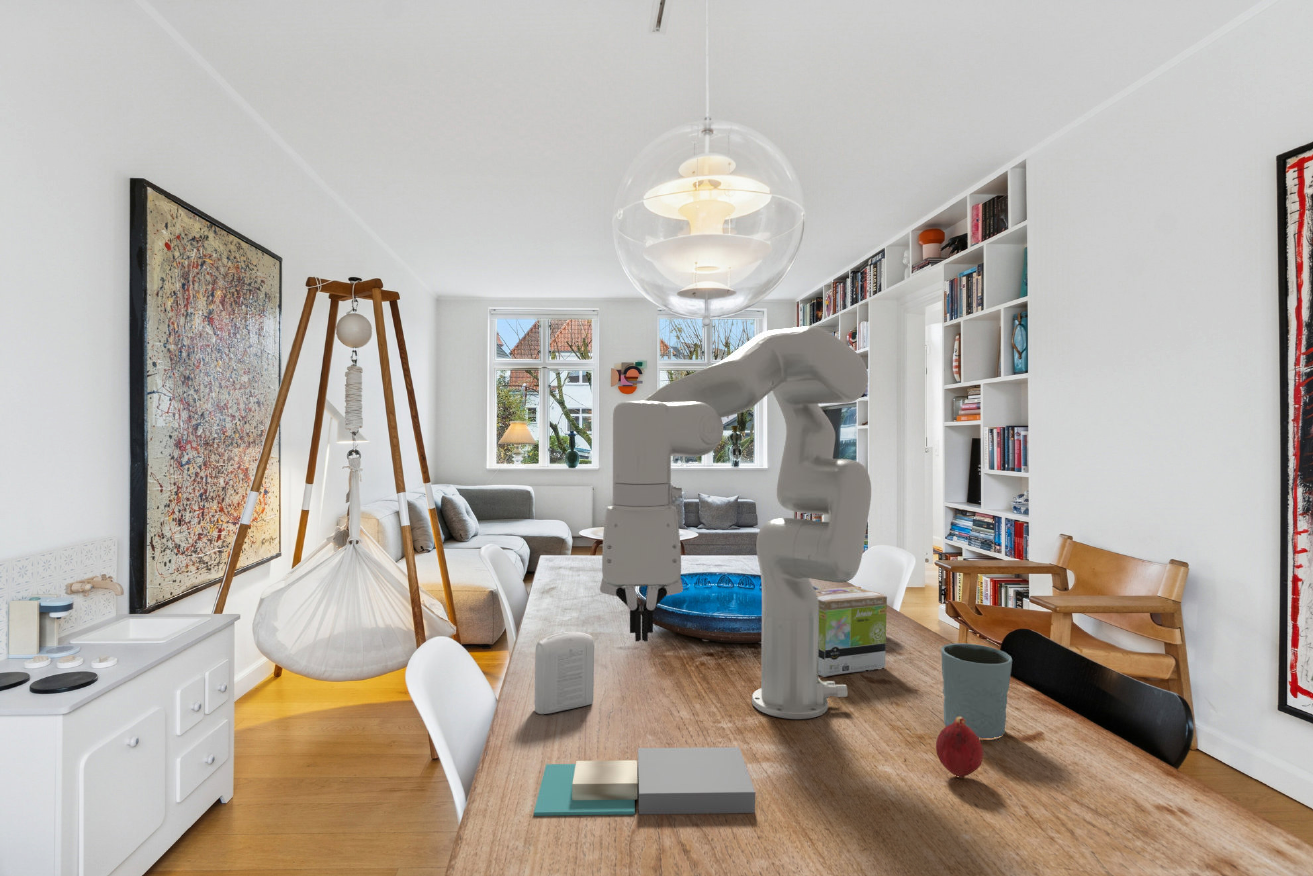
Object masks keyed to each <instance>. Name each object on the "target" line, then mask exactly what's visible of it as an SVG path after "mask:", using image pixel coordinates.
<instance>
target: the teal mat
mask: <svg viewBox="0 0 1313 876" xmlns="http://www.w3.org/2000/svg"><path fill="white" fill-rule="evenodd" d="M575 766H576V763H555V764H554V763H552V764H551V763H547V764H545V768H544V770H543V775H542V780H541V783H540V787H539V791H538V795H537V799H536V803H535V807H534V811H533V816H537V817H538V816H539V817H541V816H543V817H544V816H545V817H546V816H550V817H551V816H552V817H553V816H603V815H604V816H607V815H608V816H609V815H612V816H615V815H616V816H617V815H618V816H619V815H622V816H623V815H627V816H628V815H635V814H636V811H635V810H636V808H635V807H636V806H635V805H636V804H635V801H636V799H633V800H572V784H573V778H574V772H575Z"/></svg>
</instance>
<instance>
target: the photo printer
mask: <svg viewBox="0 0 1313 876" xmlns="http://www.w3.org/2000/svg"><path fill="white" fill-rule="evenodd" d="M594 643H595V642H594V639H593V636H592V635H591V634H588V633H585V632H582V631H565V632H560V633H559V632H558V633H556V634H552V635H550V636H547V637H545V638H543V639H540V640H539V641H538V642H537V643H536V646H535V657H534V659H535V661H534V702H533V703H534V712H535V713H537V714H539V715H545V714H547V715H548V714H552V713H553V714H554V713H558V712H563V711H566V710H571V709H576V708H580V707H581V708H582V707H586V706H589V705H592V704H593V703H594V693H595V692H594V685H595V684H594V683H595V682H594V681H595V680H594V679H595V676H594V675H595V644H594Z"/></svg>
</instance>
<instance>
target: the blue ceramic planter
mask: <svg viewBox="0 0 1313 876" xmlns="http://www.w3.org/2000/svg"><path fill="white" fill-rule="evenodd" d="M940 653H941V655H940V656H941V672H942V680H943V683H942V684H943V688H942V693H943V697H944V698H943V723H944V726H945V725H946V726H948V725H951V724H953V723H954V721H955V720H956V717H960V716H961V717H962V718H963V719H965V725H966V726H968V727H969V728H970V729H972V730H973V731H974V733H975V734H976V735H977V737H978V738H979V737H980V738H994V737H999V736H1002V735H1003V734H1004V735H1005V733H1006V732H1005V730H1006V721H1007V714H1006V713H1007V704H1008V693H1009V690H1010V689H1009V688H1010V683H1011V682H1010V679H1011V675H1012V667H1013V666H1012V664H1013V659H1012V656H1011V655H1009V654H1008V653H1007V652H1006V651H1003V650H1000V649H997V648H995V647H991V646H986V645H981V644H974V643H965V642H963V643H961V642H958V643H949V644H945V645H943V646H942V647H941V649H940ZM946 726H945V727H946Z"/></svg>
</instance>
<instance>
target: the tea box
mask: <svg viewBox="0 0 1313 876" xmlns="http://www.w3.org/2000/svg"><path fill="white" fill-rule="evenodd" d="M858 587H859V586H858ZM858 587H856V586H847V587H831V588H820V589H815V592H816V594H817V597H818V602H819V669H818V676H820V677H823V678H826V677H829V676H830V677H831V676H836V675H842V674H843V675H844V674H849V673H857V672H867V671H866V670H868V671H875V670H874V669H878V670H880V669H879V668H884V669H885V668H886V647H887V646H886V645H887V616H888V615H887V612H888V611H887V608H888V607H887V606H888V603H887V601H888V597H887V596H886V595H884V594H882V595H880V594H881V593H880V594H877V593H878V592H877V593H874V592H875V591H872V592H871V590H867V589H865V588H858Z"/></svg>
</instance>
